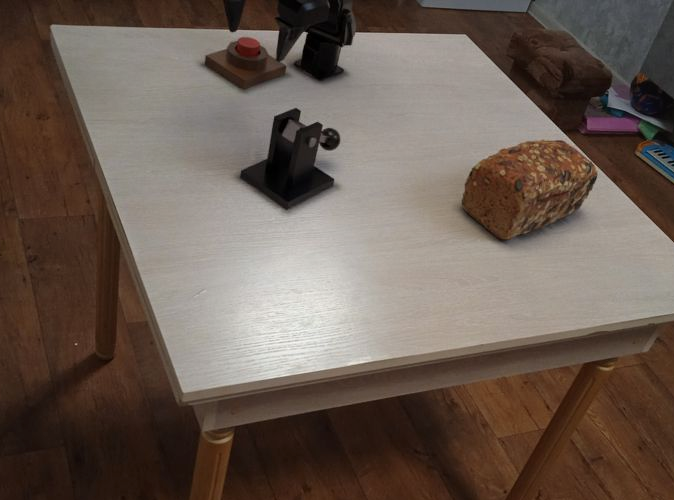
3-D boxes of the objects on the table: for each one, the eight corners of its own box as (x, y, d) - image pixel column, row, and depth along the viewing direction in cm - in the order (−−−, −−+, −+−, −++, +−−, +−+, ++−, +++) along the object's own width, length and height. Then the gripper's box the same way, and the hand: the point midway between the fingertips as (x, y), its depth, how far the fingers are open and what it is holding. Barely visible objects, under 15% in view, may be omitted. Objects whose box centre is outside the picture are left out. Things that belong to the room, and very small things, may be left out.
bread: (504, 247, 117) (530, 188, 110) (452, 205, 121) (474, 146, 115) (583, 214, 127) (610, 159, 120) (532, 177, 132) (556, 121, 125)
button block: (246, 51, 142) (249, 31, 140) (285, 74, 139) (288, 55, 137) (204, 64, 136) (206, 44, 133) (243, 89, 133) (246, 69, 130)
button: (247, 45, 137) (248, 35, 136) (263, 54, 136) (264, 44, 134) (231, 49, 135) (233, 39, 133) (247, 59, 133) (249, 49, 132)
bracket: (287, 155, 122) (298, 95, 115) (333, 185, 119) (347, 125, 112) (239, 177, 115) (248, 114, 109) (286, 209, 112) (298, 147, 105)
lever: (321, 145, 122) (331, 125, 121) (338, 155, 121) (348, 135, 120) (277, 136, 111) (287, 114, 110) (294, 147, 110) (305, 125, 109)
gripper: (173, -94, 102) (166, 28, 113) (280, -32, 95) (262, 91, 106) (238, -103, 109) (226, 13, 120) (342, -46, 102) (319, 71, 113)
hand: (255, 46), depth 115 cm, fingers open, 9 cm apart
